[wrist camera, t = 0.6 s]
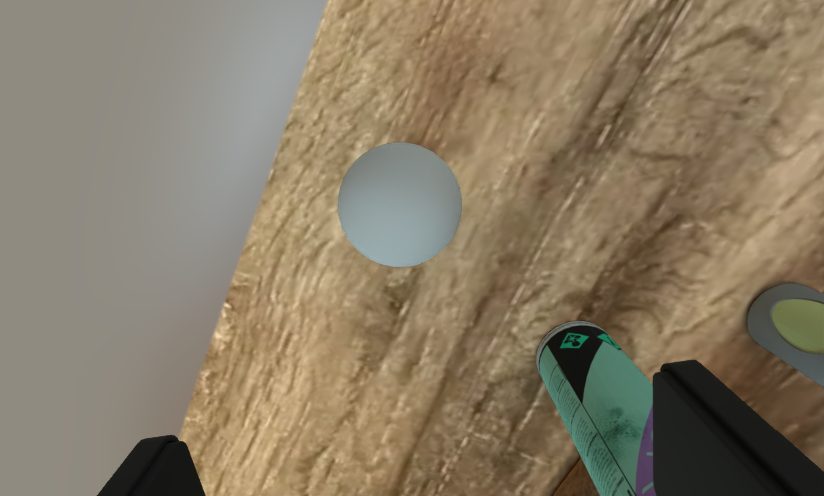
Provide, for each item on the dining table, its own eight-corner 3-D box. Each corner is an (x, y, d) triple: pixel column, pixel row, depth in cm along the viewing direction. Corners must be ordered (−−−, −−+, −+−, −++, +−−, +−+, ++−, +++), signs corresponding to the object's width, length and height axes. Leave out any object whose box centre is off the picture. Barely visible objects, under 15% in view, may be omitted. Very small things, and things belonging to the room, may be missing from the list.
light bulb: (468, 171, 29) (498, 205, 19) (411, 245, 30) (414, 310, 21) (390, 112, 28) (382, 118, 18) (335, 192, 29) (301, 234, 20)
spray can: (609, 388, 34) (876, 761, 15) (533, 390, 34) (701, 767, 15) (617, 319, 32) (929, 636, 13) (537, 321, 32) (732, 642, 13)
